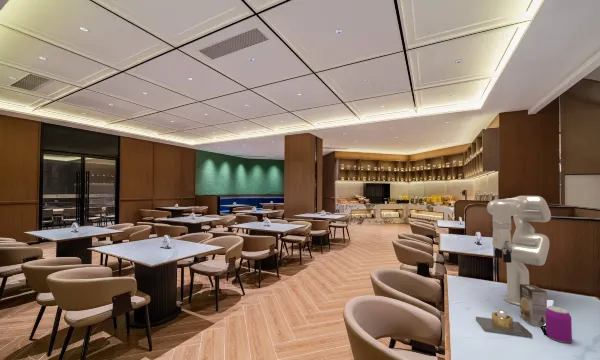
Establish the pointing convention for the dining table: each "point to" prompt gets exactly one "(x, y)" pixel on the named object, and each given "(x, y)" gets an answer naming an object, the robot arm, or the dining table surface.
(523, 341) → the dining table surface
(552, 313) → the beverage can
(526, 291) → the coffee box
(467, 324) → the dining table surface
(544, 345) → the dining table surface
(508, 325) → the brass ring
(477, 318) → the stand
